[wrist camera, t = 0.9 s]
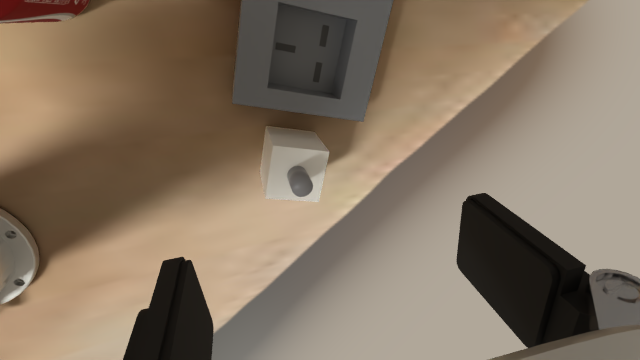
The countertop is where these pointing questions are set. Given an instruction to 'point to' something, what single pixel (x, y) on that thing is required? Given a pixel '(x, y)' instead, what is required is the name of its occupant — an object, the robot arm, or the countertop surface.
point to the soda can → (40, 10)
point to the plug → (292, 164)
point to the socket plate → (309, 55)
